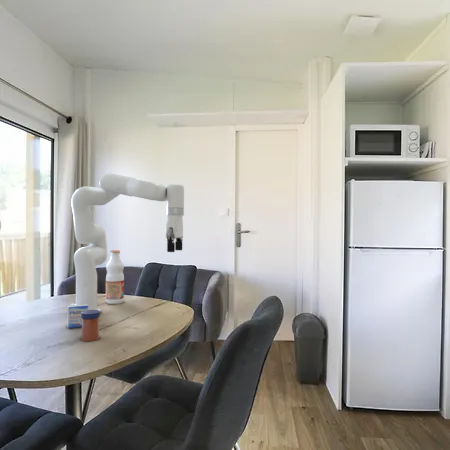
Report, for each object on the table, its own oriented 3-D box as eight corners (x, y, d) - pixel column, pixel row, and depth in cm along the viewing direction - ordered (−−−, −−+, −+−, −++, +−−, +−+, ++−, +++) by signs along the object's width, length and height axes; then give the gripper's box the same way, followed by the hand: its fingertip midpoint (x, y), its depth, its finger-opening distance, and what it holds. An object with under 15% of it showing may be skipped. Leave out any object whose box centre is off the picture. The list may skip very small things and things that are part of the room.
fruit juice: (102, 302, 200) (102, 250, 199) (118, 299, 206) (118, 249, 206) (110, 305, 193) (111, 251, 193) (127, 302, 200) (127, 250, 199)
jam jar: (78, 340, 136) (78, 314, 136) (88, 335, 142) (88, 310, 142) (92, 341, 135) (92, 315, 135) (102, 337, 141) (102, 311, 141)
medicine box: (67, 328, 151) (67, 307, 151) (66, 325, 155) (67, 305, 155) (88, 326, 155) (88, 305, 155) (86, 323, 159) (87, 303, 159)
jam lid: (76, 318, 136) (76, 313, 136) (87, 314, 142) (87, 309, 142) (93, 319, 134) (93, 314, 134) (103, 315, 141) (103, 310, 141)
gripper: (174, 212, 173) (173, 249, 173) (159, 211, 156) (159, 252, 156) (189, 212, 171) (189, 249, 171) (176, 211, 154) (176, 253, 154)
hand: (174, 251), depth 164 cm, fingers open, 9 cm apart
